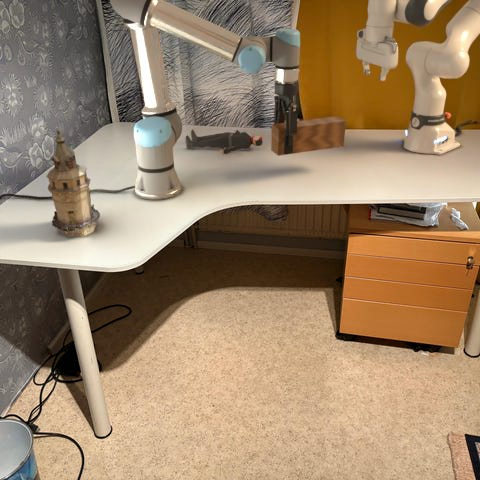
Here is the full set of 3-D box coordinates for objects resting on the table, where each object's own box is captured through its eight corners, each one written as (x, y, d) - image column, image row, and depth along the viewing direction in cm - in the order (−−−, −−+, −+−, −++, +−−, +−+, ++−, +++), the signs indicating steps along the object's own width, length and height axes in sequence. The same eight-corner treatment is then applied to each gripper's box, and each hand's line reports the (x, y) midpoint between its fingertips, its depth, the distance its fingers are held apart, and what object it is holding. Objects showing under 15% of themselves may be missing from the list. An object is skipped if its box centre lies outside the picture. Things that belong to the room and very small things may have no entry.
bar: (277, 155, 179) (278, 129, 174) (271, 150, 183) (271, 124, 179) (343, 146, 186) (346, 120, 181) (335, 141, 191) (337, 116, 186)
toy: (197, 123, 225) (267, 123, 219) (198, 137, 228) (268, 138, 222) (178, 143, 203) (256, 144, 197) (180, 159, 206) (257, 160, 200)
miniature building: (80, 214, 164) (63, 117, 149) (111, 225, 157) (96, 125, 142) (44, 231, 154) (22, 130, 140) (75, 244, 147) (55, 139, 133)
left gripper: (310, 86, 164) (306, 158, 175) (285, 74, 179) (283, 140, 191) (288, 88, 162) (285, 161, 173) (264, 75, 177) (263, 143, 188)
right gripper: (405, 38, 170) (399, 83, 176) (370, 29, 186) (366, 70, 193) (388, 40, 168) (383, 84, 174) (354, 31, 184) (351, 72, 191)
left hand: (284, 150), depth 182 cm, fingers closed on bar, 6 cm apart
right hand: (374, 77), depth 184 cm, fingers open, 8 cm apart
